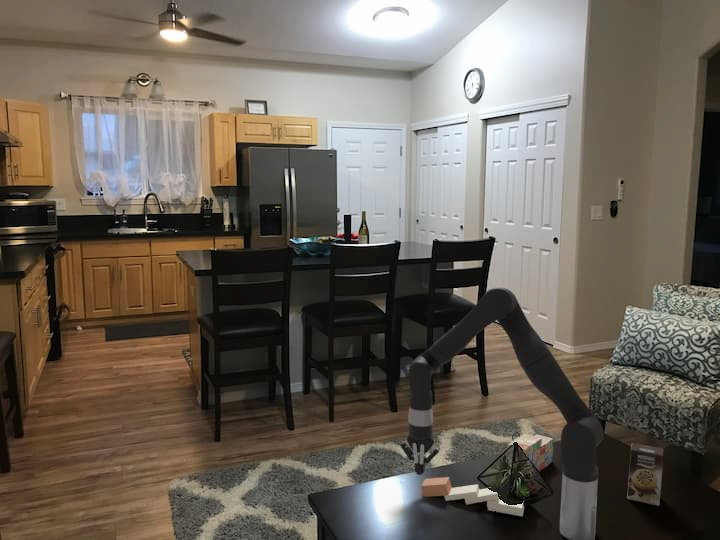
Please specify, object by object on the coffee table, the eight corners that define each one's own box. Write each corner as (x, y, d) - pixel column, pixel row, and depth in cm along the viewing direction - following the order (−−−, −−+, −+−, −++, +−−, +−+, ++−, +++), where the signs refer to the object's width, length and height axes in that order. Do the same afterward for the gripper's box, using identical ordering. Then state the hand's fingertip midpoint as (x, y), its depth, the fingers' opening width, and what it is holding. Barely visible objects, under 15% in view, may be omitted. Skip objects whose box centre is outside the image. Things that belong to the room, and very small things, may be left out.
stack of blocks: (535, 458, 208) (537, 425, 207) (552, 464, 204) (554, 430, 203) (506, 479, 193) (507, 443, 191) (523, 485, 189) (524, 449, 187)
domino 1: (427, 489, 186) (451, 487, 183) (423, 496, 181) (448, 495, 178) (425, 478, 185) (449, 477, 182) (421, 485, 181) (445, 484, 178)
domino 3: (466, 497, 181) (498, 491, 178) (466, 504, 176) (498, 498, 173) (465, 492, 181) (497, 486, 178) (464, 499, 176) (497, 493, 174)
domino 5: (490, 504, 178) (523, 511, 175) (487, 512, 173) (522, 519, 170) (490, 499, 178) (524, 506, 174) (488, 507, 173) (522, 514, 170)
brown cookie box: (626, 499, 180) (629, 449, 178) (628, 490, 186) (631, 441, 184) (659, 506, 176) (663, 455, 174) (660, 497, 181) (663, 447, 179)
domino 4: (489, 499, 178) (523, 505, 175) (487, 506, 174) (521, 513, 170) (489, 494, 178) (523, 500, 175) (487, 501, 174) (521, 508, 170)
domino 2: (448, 493, 183) (479, 489, 180) (445, 500, 178) (477, 496, 175) (446, 488, 183) (478, 484, 180) (444, 495, 178) (476, 491, 175)
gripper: (444, 419, 182) (443, 472, 184) (404, 413, 187) (403, 465, 189) (438, 428, 175) (436, 483, 177) (396, 421, 180) (395, 474, 182)
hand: (419, 473), depth 183 cm, fingers closed
